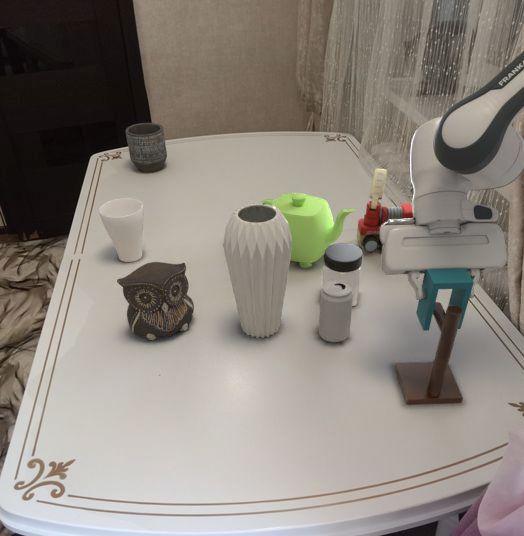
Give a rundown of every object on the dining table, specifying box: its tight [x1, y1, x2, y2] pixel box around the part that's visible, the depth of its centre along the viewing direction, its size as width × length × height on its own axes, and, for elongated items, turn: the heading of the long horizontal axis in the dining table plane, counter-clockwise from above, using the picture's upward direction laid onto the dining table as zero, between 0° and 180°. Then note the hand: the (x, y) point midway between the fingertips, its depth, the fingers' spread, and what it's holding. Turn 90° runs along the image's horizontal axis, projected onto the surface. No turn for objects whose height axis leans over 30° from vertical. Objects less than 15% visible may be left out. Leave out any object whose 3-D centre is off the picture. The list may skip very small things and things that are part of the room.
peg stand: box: [394, 301, 464, 405], centre depth 96 cm, size 10×10×20 cm
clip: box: [415, 268, 474, 332], centre depth 91 cm, size 5×6×10 cm
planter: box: [125, 122, 168, 173], centre depth 180 cm, size 12×12×13 cm
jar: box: [321, 242, 364, 307], centre depth 120 cm, size 9×8×12 cm
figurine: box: [116, 261, 195, 341], centre depth 113 cm, size 15×14×15 cm
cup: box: [98, 197, 145, 263], centre depth 136 cm, size 10×10×14 cm
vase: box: [222, 202, 293, 339], centre depth 108 cm, size 13×13×26 cm
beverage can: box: [318, 280, 353, 343], centre depth 110 cm, size 6×6×12 cm
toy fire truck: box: [356, 168, 413, 254], centre depth 137 cm, size 11×16×18 cm
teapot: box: [260, 192, 356, 269], centre depth 132 cm, size 25×22×16 cm
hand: (445, 298), depth 91 cm, fingers closed on clip, 6 cm apart
